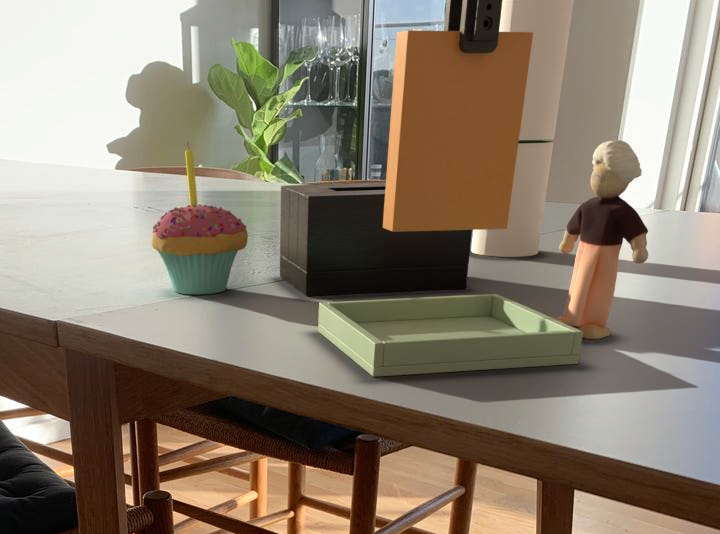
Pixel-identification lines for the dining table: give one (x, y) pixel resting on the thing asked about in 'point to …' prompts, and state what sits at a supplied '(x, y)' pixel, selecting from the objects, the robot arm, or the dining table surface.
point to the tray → (446, 334)
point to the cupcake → (198, 242)
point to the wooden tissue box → (362, 245)
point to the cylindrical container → (532, 124)
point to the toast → (454, 132)
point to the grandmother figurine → (602, 239)
